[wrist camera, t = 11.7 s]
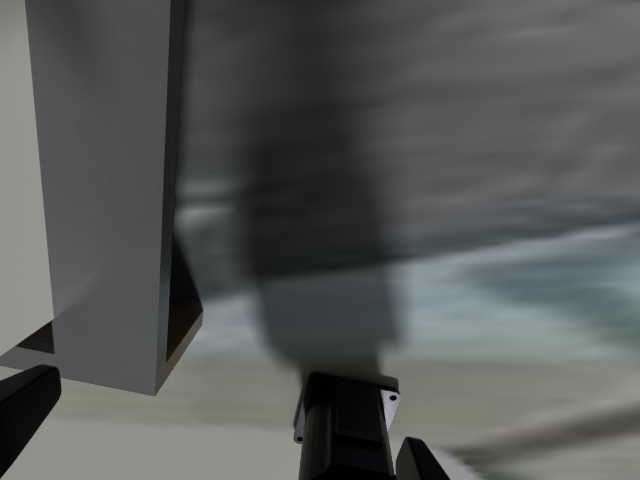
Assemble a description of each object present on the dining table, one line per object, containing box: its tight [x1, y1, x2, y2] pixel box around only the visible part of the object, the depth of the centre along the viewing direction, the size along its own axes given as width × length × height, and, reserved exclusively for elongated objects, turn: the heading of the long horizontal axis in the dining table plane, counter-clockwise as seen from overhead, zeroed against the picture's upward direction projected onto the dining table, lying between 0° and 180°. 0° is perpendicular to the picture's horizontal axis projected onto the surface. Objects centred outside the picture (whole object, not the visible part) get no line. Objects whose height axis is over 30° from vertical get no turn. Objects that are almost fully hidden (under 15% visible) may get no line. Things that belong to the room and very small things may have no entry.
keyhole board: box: [0, 0, 203, 396], centre depth 15 cm, size 22×14×6 cm, turn 168°
